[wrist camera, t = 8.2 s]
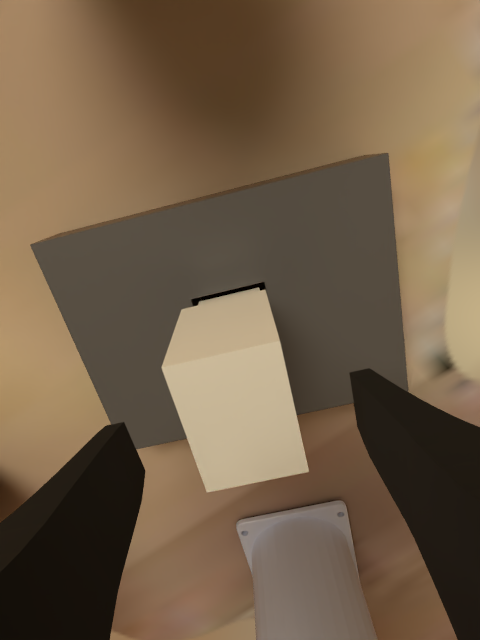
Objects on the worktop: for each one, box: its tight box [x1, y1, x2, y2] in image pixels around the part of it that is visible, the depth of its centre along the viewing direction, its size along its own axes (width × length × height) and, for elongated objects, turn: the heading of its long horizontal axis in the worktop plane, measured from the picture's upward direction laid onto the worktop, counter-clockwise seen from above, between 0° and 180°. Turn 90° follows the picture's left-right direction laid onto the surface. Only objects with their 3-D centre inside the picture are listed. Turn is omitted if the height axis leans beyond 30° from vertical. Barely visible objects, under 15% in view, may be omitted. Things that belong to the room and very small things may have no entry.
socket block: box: [30, 153, 408, 449], centre depth 20 cm, size 12×16×3 cm
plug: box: [161, 287, 309, 492], centre depth 15 cm, size 5×3×8 cm
